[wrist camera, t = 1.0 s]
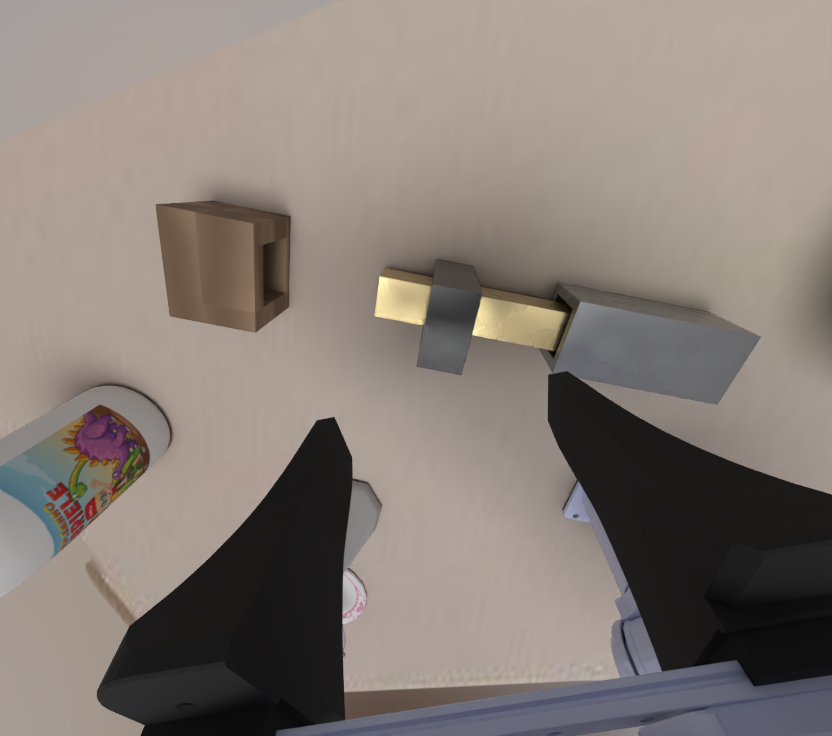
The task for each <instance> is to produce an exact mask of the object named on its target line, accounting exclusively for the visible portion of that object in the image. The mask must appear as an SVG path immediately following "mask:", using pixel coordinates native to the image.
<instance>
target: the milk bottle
mask: <svg viewBox="0 0 832 736" xmlns="http://www.w3.org/2000/svg"><path fill="white" fill-rule="evenodd" d="M169 441H170V430H169V426H168V423H167V421H166V419H165V417H164V416H163V414H162V413H161V411H160V410H159V409H158V408H157V407H156V406H155V405H154V404H153V403H152V402H151V401H150V400H148V399H147V398H145V397H144V396H142V395H141V394H139V393H137V392H135V391H133V390H130V389H127V388H124V387H118V386H100V387H95V388H92V389H89V390H87V391H85V392H83V393H81V394H80V395H78V396H76V397H74V398H72V399H71V400H69V401H67V402H65V403H63V404H62V405H60V406H58V407H56V408H55V409H53V410H51V411H49V412H48V413H46V414H44V415H42V416H41V417H39V418H37V419H35V420H34V421H32V422H30V423H28V424H26V425H25V426H23V427H21V428H19V429H18V430H16V431H14V432H12V433H11V434H9V435H7V436H5V437H4V438H2V439H0V597H2V596H4V595H5V594H7V593H9V592H10V591H11V590H13V589H14V588H16V587H17V586H19V585H20V584H21V583H23V582H24V581H25V580H27V579H28V578H29V577H31V576H32V575H33V574H35V573H36V572H37V571H38V570H40V568H42V567H43V566H44V565H45V564H46V563H48V562H49V561H50V560H51V559H52V558H53V557H54V556H55V555H57V554H58V553H59V552H60V551H61V550H62V549H63V548H64V547H66V546H67V545H68V544H69V543H70V542H71V541H72V540H73V539H74V538H75V537H76V536H77V535H79V534H80V533H81V532H82V531H83V530H84V529H85V528H86V527H87V526H88V525H89V524H90V523H92V522H93V521H94V520H95V519H96V518H97V517H98V516H99V515H100V514H101V513H102V512H103V511H104V510H105V509H107V508H108V507H109V506H110V505H111V504H112V503H113V502H114V501H115V500H116V499H117V498H118V497H119V496H120V495H121V494H122V493H123V492H124V491H126V490H127V489H128V488H129V487H130V486H131V485H132V484H133V483H134V482H135V481H136V480H137V479H138V478H139V477H140V476H141V475H142V474H143V473H145V472H146V471H147V470H148V469H149V468H150V467H151V466H152V465H153V464H154V463H155V462H156V461H157V460H158V459H159V458H160V457H161V456H162V455H163V454H164V453H165V451H166V450H167V447H168V444H169Z"/></svg>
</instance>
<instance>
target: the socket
mask: <svg viewBox="0 0 832 736" xmlns="http://www.w3.org/2000/svg"><path fill="white" fill-rule="evenodd" d="M156 212H157V220H158V228H159V236H160V243H161V251H162V259H163V267H164V274H165V282H166V290H167V298H168V306H169V313H170V316H172V317H177V318H182V319H187V320H192V321H198V322H203V323H208V324H213V325H218V326H224V327H229V328H234V329H239V330H244V331H250V332H255V333H256V332H257V331H258V330H259V329H261V328H262V327H263V326H265V325H266V324H267V323H269V322H270V321H271V320H273V319H274V318H275V317H276V316H278V315H279V314H280V313H282V312H283V311H284V310H286V309H287V308H288V301H289V257H290V216H286V215H280V214H275V213H270V212H265V211H260V210H255V209H250V208H245V207H240V206H235V205H230V204H225V203H220V202H214V201H203V202H186V203H170V204H156Z"/></svg>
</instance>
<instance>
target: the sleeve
mask: <svg viewBox="0 0 832 736" xmlns="http://www.w3.org/2000/svg"><path fill="white" fill-rule="evenodd" d="M552 301H556V302H561V303H566V304H569V305H570V306H571V307H572V308H573V310H572V313H571V315H570V318H569V321H568V323H567V326H566V329H565V331H564V334H563V336H562V339H561V342H560V344H559V347H558V349H557V351H552V350H547V349H541V348H539V350H540V352H541V353H542V355H543V357H544V359H545V360H546V362H547V364H548V365H549V367H550V369H551V371H552V372H553V373H560V372H565V371H568V372H570V373H571V374H572V375H574V376H575V377H577V378H582V379H587V380H592V381H597V382H602V383H607V384H613V385H618V386H623V387H628V388H633V389H639V390H644V391H649V392H654V393H659V394H664V395H670V396H675V397H680V398H685V399H690V400H695V401H701V402H706V403H711V404H716V405H718V403H719V401H720V400H721V398H722V397H723V395H724V394H725V392H726V391H727V389H728V387H729V386H730V384H731V383H732V381H733V380H734V378H735V377H736V375H737V373H738V372H739V370H740V369H741V367H742V366H743V364H744V363H745V361H746V359H747V358H748V356H749V355H750V353H751V352H752V350H753V349H754V347H755V346H756V344H757V342H758V341H759V339H760V338H761V337H760V336H758V335H756V334H754V333H752V332H750V331H748V330H746V329H744V328H741V327H739V326H737V325H735V324H733V323H731V322H729V321H727V320H725V319H723V318H721V317H718V316H716V315H714V314H712V313H710V312H706V311H701V310H696V309H691V308H686V307H681V306H676V305H670V304H665V303H660V302H655V301H650V300H645V299H640V298H635V297H630V296H625V295H620V294H614V293H609V292H604V291H599V290H594V289H589V288H584V287H579V286H574V285H569V284H564V283H559V282H558V285H557V288H556V290H555V293H554V296H553V299H552Z"/></svg>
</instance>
